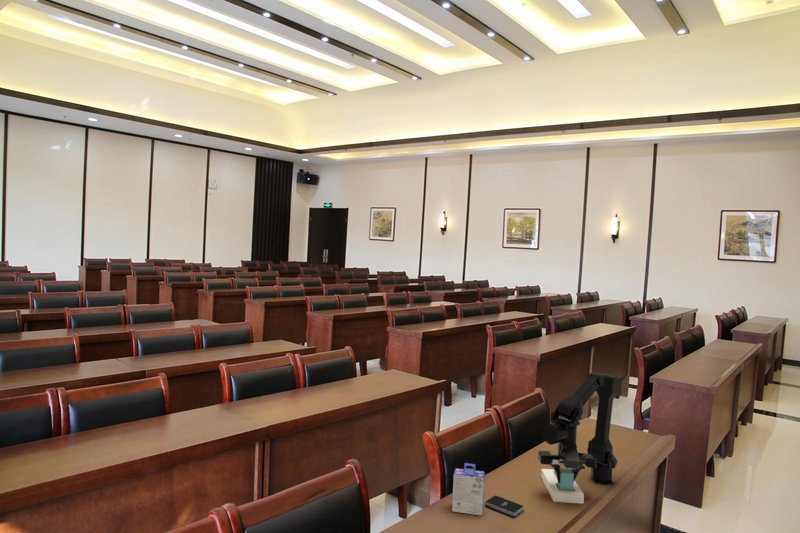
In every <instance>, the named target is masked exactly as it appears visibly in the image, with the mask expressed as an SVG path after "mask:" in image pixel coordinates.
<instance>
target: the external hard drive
mask: <svg viewBox="0 0 800 533" xmlns="http://www.w3.org/2000/svg"><path fill="white" fill-rule="evenodd" d="M484 507H486V508H487V509H490V510H492V511H495V512H498V513H500V514H502V515H505V516H507V517H509V518H513V519H515V518H517V517H518V516H520V515H521V514H522V513H523V512H524V511H525V506H524V505H523V504H520V503H518V502H514V501H512V500H510V499H507V498H504V497H502V496H499V495H497V494H496V495H495V494H494V495H492V496H490V497H489V498H488V499H486V500H484Z"/></svg>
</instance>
